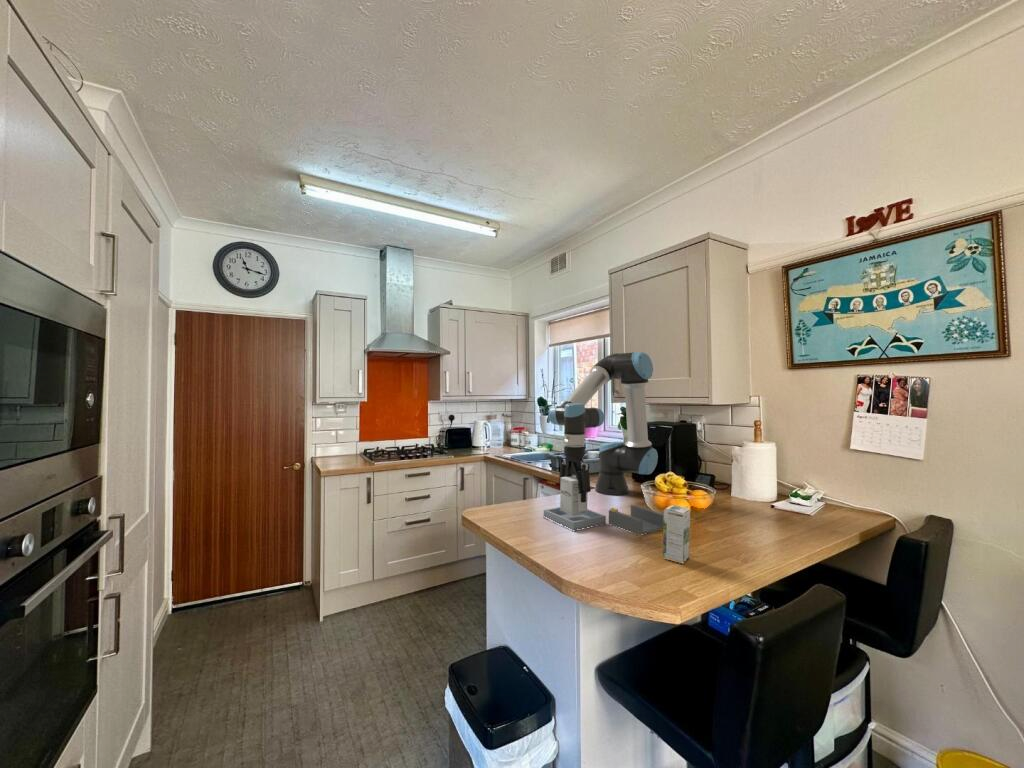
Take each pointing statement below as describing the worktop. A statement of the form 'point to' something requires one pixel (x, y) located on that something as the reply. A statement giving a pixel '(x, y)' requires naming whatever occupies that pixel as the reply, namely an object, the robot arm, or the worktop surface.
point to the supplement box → (570, 496)
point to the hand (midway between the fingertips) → (574, 507)
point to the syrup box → (676, 533)
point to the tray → (575, 518)
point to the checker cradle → (637, 520)
